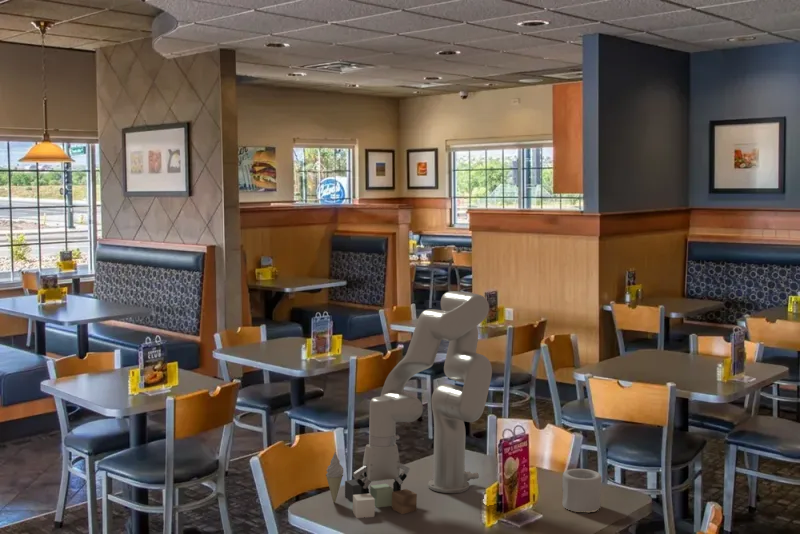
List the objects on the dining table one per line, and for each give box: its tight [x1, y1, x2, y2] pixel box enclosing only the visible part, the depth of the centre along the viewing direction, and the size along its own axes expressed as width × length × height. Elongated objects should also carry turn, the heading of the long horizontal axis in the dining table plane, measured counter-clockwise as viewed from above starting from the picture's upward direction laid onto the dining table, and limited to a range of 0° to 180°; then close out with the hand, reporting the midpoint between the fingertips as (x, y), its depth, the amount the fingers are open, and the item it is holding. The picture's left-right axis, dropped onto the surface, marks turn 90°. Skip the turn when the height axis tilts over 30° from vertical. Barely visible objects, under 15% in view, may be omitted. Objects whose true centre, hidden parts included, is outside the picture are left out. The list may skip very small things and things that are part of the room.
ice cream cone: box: [325, 451, 344, 504], centre depth 256 cm, size 5×5×15 cm
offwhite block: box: [352, 493, 376, 519], centre depth 248 cm, size 5×5×5 cm
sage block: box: [369, 483, 393, 509], centre depth 256 cm, size 5×5×5 cm
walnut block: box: [391, 488, 418, 515], centre depth 252 cm, size 5×5×5 cm
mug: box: [561, 468, 602, 512], centre depth 257 cm, size 14×11×10 cm
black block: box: [344, 478, 369, 503], centre depth 261 cm, size 5×5×5 cm
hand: (381, 498), depth 256 cm, fingers open, 9 cm apart
